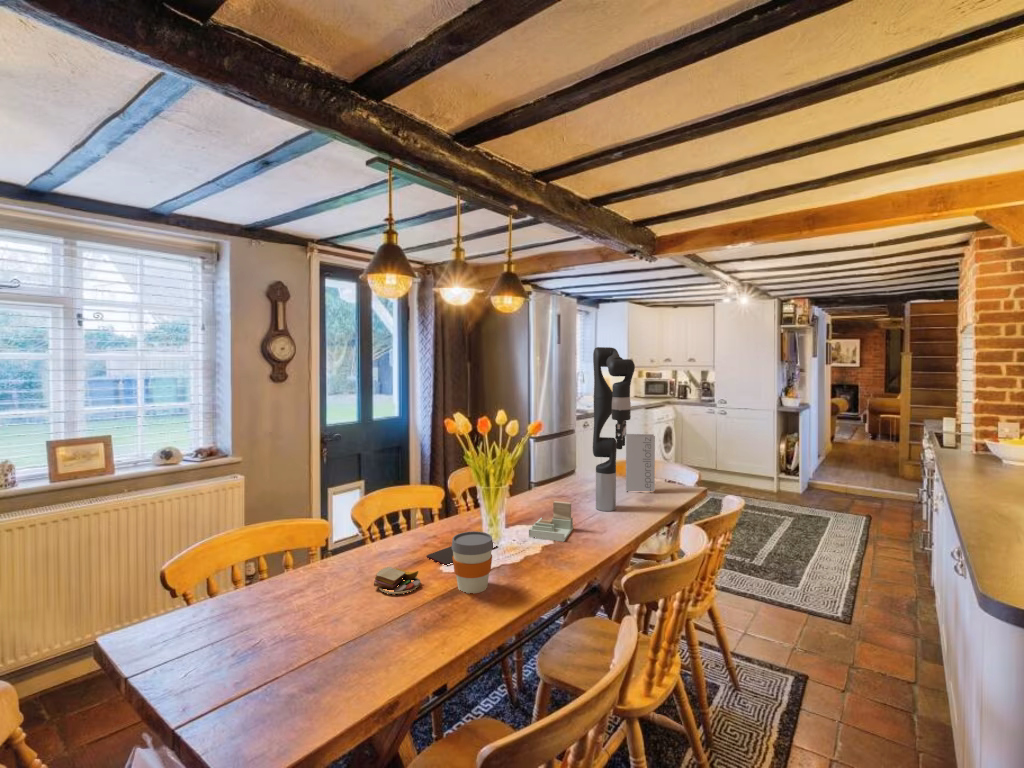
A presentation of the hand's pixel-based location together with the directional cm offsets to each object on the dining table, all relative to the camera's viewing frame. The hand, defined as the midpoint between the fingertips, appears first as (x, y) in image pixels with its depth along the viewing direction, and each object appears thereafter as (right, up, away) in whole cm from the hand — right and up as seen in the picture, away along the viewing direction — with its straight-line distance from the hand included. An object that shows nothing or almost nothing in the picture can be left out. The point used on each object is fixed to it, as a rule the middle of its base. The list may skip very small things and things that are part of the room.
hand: (620, 447), depth 203 cm
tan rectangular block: (-24, -32, -1) cm, 40 cm away
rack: (-29, -34, -5) cm, 44 cm away
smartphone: (-63, -35, -24) cm, 76 cm away
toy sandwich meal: (-80, -36, -52) cm, 102 cm away
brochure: (+22, -31, +57) cm, 69 cm away
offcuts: (-31, -33, -4) cm, 45 cm away
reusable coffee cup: (-57, -36, -52) cm, 85 cm away
